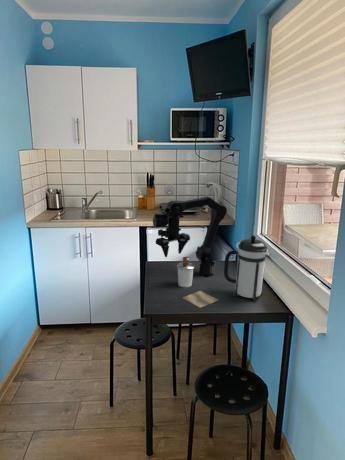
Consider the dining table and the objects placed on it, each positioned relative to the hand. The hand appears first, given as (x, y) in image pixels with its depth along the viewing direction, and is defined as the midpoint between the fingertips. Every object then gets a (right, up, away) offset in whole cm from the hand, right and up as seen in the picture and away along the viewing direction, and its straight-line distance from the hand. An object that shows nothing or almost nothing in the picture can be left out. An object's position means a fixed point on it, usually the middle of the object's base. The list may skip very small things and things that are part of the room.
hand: (172, 255), depth 171 cm
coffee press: (+34, -18, -13) cm, 41 cm away
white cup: (+6, -15, -4) cm, 17 cm away
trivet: (+13, -19, -19) cm, 29 cm away
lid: (+6, -5, -6) cm, 10 cm away
